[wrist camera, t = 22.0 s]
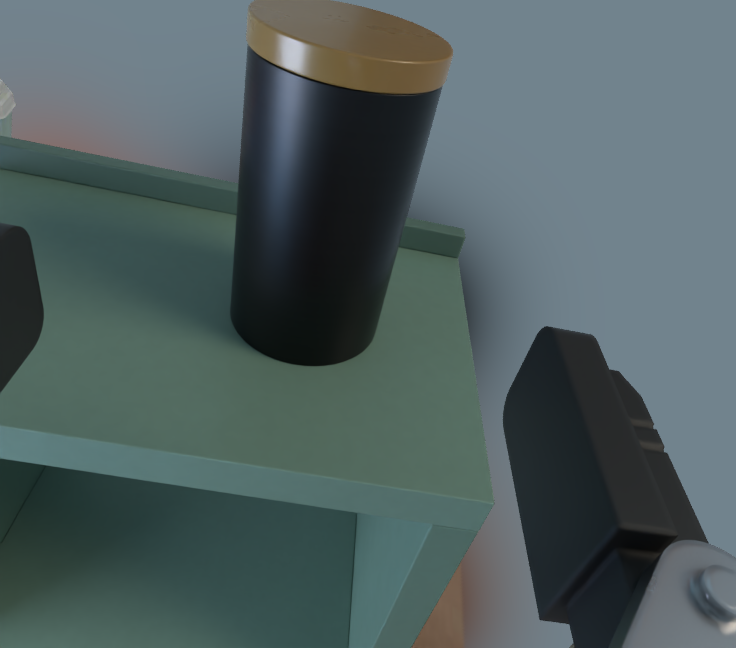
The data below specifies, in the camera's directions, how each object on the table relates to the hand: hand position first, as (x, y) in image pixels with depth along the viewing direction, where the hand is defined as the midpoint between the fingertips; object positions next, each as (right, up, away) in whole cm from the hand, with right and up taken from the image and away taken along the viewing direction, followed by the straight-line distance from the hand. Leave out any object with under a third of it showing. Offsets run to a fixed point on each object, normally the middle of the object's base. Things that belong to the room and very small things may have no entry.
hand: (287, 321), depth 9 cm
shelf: (-9, -14, +24) cm, 29 cm away
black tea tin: (-1, 0, +12) cm, 12 cm away
